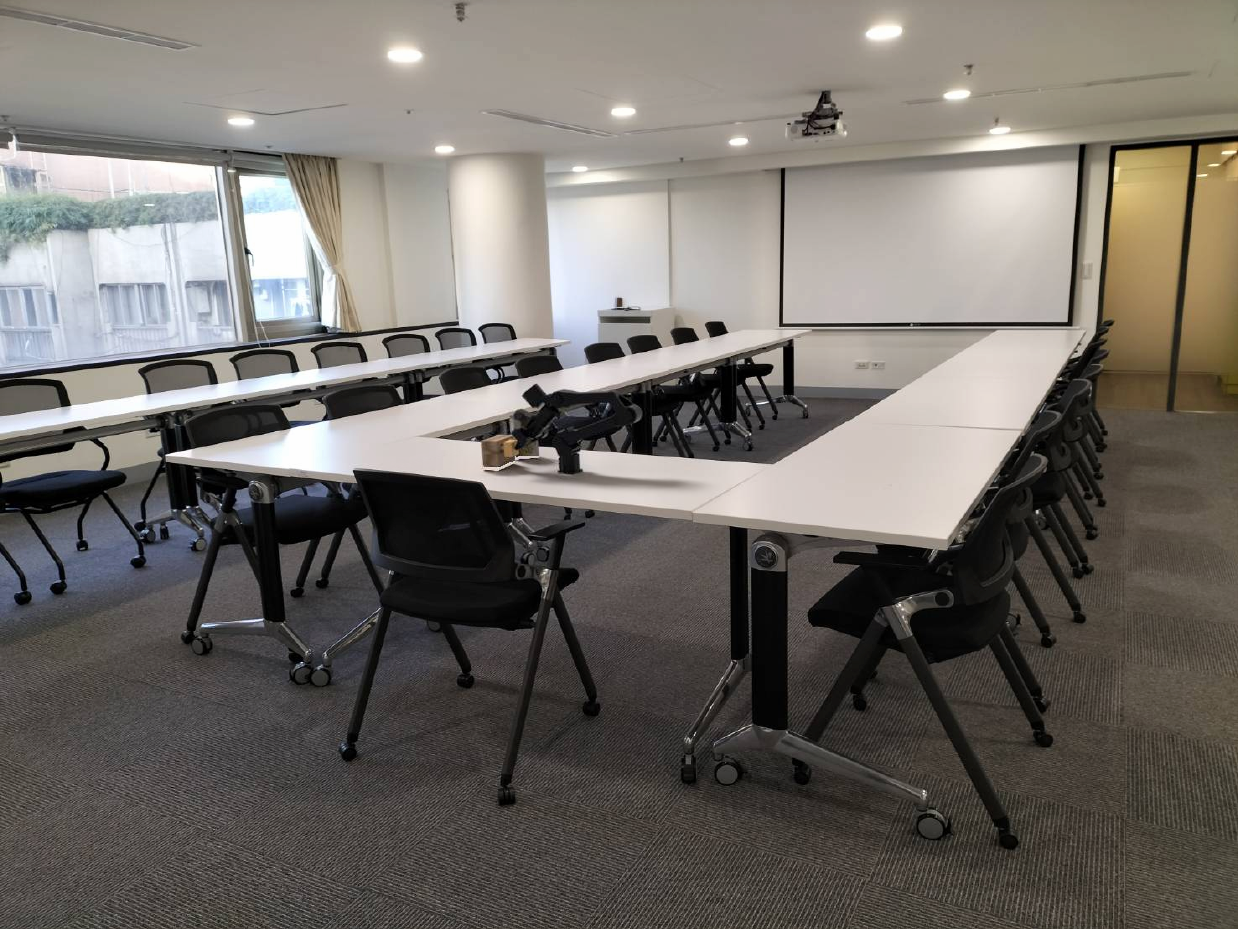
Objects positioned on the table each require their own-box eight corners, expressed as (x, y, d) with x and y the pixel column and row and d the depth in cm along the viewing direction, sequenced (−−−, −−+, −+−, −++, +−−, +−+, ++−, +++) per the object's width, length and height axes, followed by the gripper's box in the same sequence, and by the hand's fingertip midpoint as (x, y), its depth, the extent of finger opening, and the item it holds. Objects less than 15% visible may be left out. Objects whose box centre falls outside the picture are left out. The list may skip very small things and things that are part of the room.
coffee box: (535, 455, 330) (532, 413, 327) (539, 458, 324) (537, 415, 321) (511, 458, 327) (508, 415, 324) (515, 460, 321) (512, 417, 318)
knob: (518, 454, 306) (517, 440, 305) (512, 456, 302) (511, 442, 301) (500, 453, 309) (499, 439, 308) (493, 456, 304) (492, 441, 303)
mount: (517, 464, 314) (516, 435, 312) (501, 471, 302) (499, 441, 300) (500, 463, 317) (498, 434, 315) (483, 470, 305) (481, 441, 303)
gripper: (539, 397, 307) (512, 428, 313) (514, 405, 290) (487, 437, 296) (560, 420, 306) (533, 450, 312) (537, 429, 288) (509, 460, 294)
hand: (515, 449), depth 303 cm, fingers closed, pressing on knob
